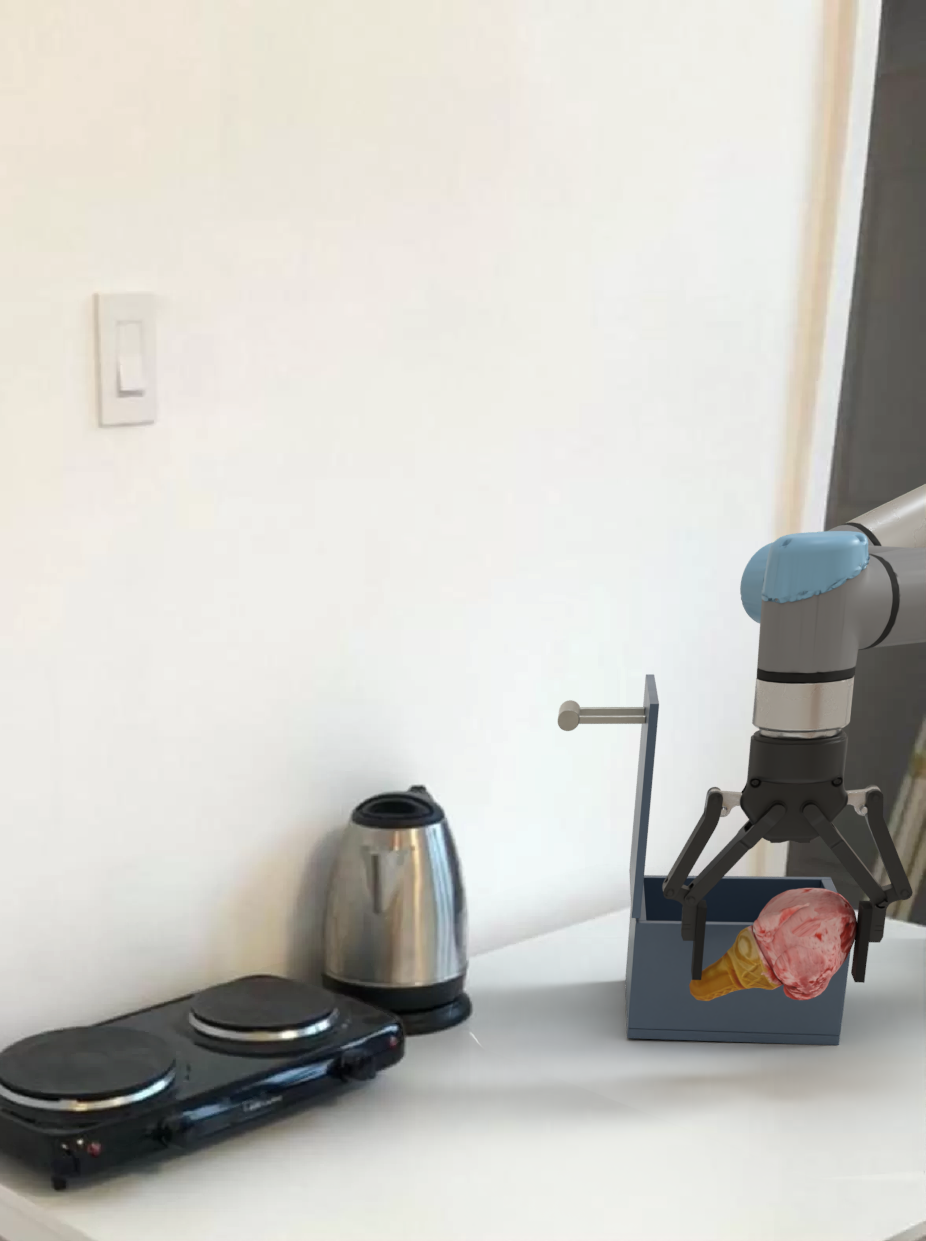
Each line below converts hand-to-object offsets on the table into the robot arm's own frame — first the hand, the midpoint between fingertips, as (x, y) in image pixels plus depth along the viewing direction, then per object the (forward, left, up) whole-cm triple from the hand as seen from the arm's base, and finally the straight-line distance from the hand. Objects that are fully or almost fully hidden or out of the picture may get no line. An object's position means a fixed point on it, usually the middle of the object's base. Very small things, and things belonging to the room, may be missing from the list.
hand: (775, 977), depth 156 cm
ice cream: (0, 0, -2) cm, 2 cm away
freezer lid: (+11, -20, +12) cm, 26 cm away
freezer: (+2, -20, -10) cm, 22 cm away
